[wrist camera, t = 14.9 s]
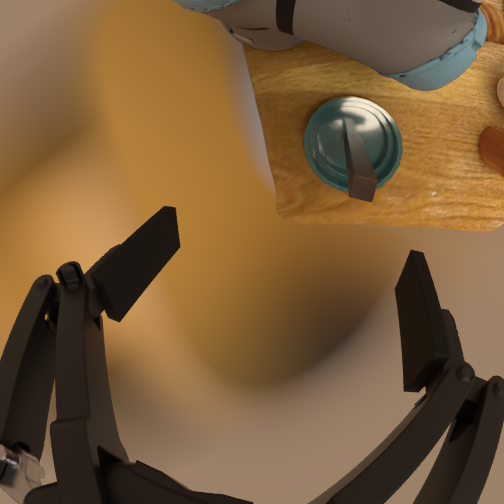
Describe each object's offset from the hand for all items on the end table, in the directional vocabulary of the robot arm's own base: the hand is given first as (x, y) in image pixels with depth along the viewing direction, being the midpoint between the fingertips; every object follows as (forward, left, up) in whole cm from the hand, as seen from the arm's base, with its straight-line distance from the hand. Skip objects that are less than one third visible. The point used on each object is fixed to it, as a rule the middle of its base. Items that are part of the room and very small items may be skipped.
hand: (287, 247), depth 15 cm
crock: (-7, +28, -29) cm, 42 cm away
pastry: (-27, +23, -30) cm, 47 cm away
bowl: (-1, +4, -29) cm, 30 cm away
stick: (-1, +4, -29) cm, 29 cm away
